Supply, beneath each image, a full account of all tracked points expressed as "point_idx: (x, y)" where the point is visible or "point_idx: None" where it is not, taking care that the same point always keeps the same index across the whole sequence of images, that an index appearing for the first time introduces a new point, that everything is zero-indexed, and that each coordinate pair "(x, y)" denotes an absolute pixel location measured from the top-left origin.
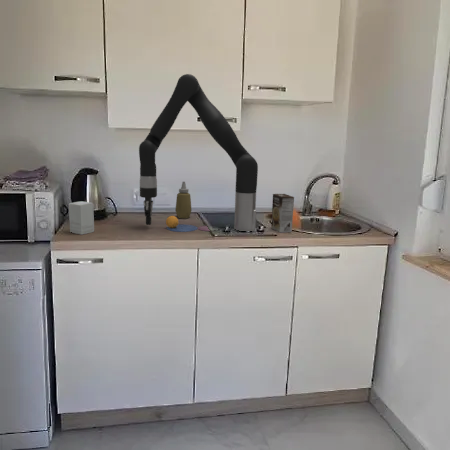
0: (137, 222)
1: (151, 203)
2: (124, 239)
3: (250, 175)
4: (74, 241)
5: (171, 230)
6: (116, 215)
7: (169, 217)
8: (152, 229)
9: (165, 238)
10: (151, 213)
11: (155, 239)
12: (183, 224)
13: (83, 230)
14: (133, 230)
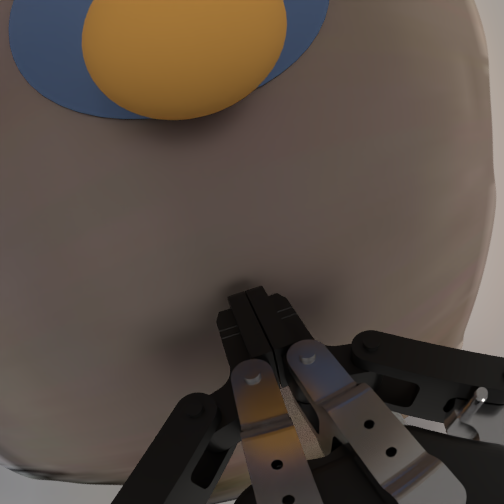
0: (102, 407)
1: (451, 485)
2: (474, 272)
3: None
4: None
5: (312, 38)
6: (57, 471)
7: (254, 32)
8: (295, 231)
9: (476, 91)
10: (239, 391)
11: (489, 142)
12: (10, 21)
13: (398, 417)
14: (341, 334)
